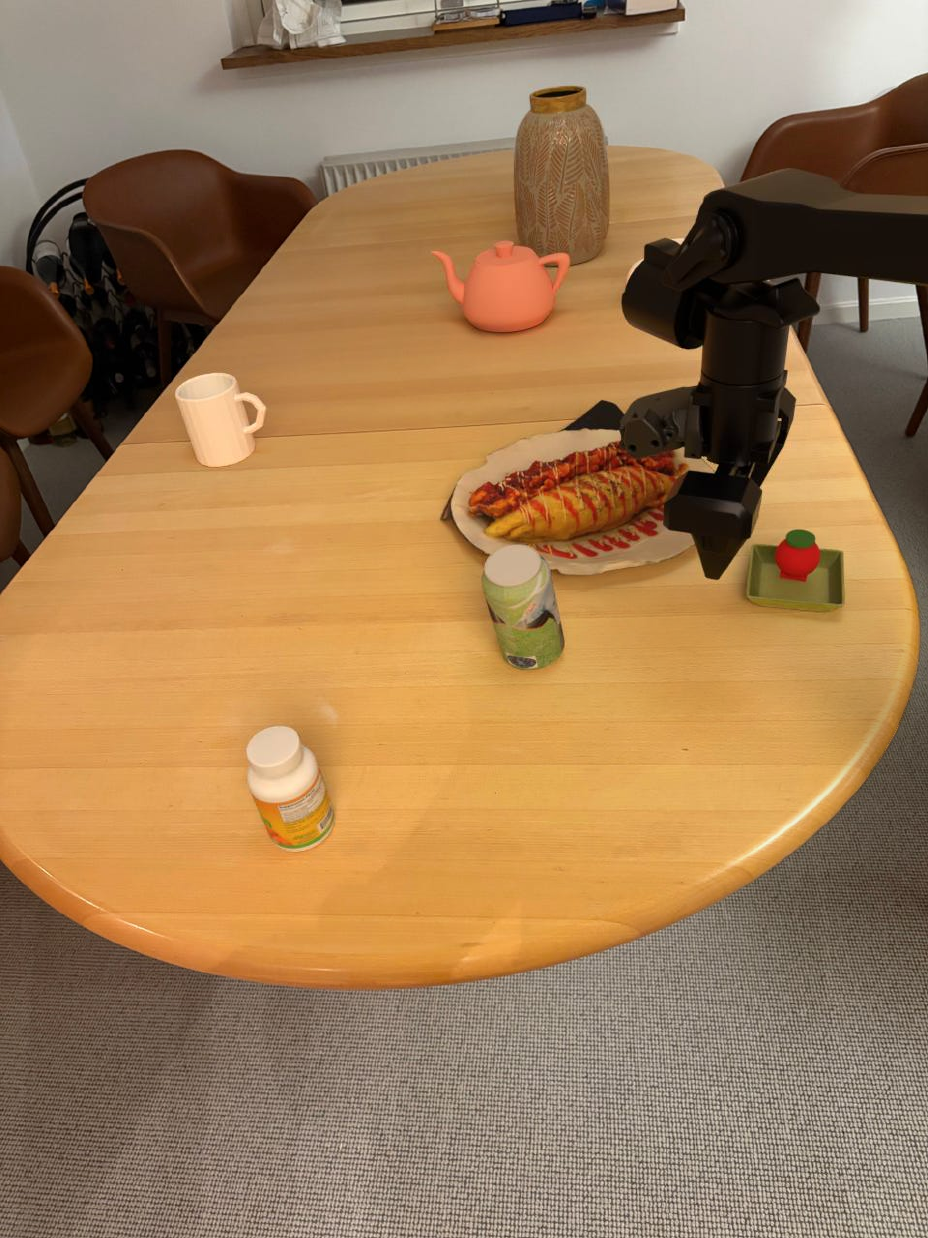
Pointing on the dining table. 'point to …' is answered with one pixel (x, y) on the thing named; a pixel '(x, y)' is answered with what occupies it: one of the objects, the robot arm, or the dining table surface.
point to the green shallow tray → (796, 582)
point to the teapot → (506, 287)
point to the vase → (561, 176)
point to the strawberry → (797, 555)
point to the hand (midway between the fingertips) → (725, 545)
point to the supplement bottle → (288, 789)
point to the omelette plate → (574, 498)
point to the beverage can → (523, 607)
